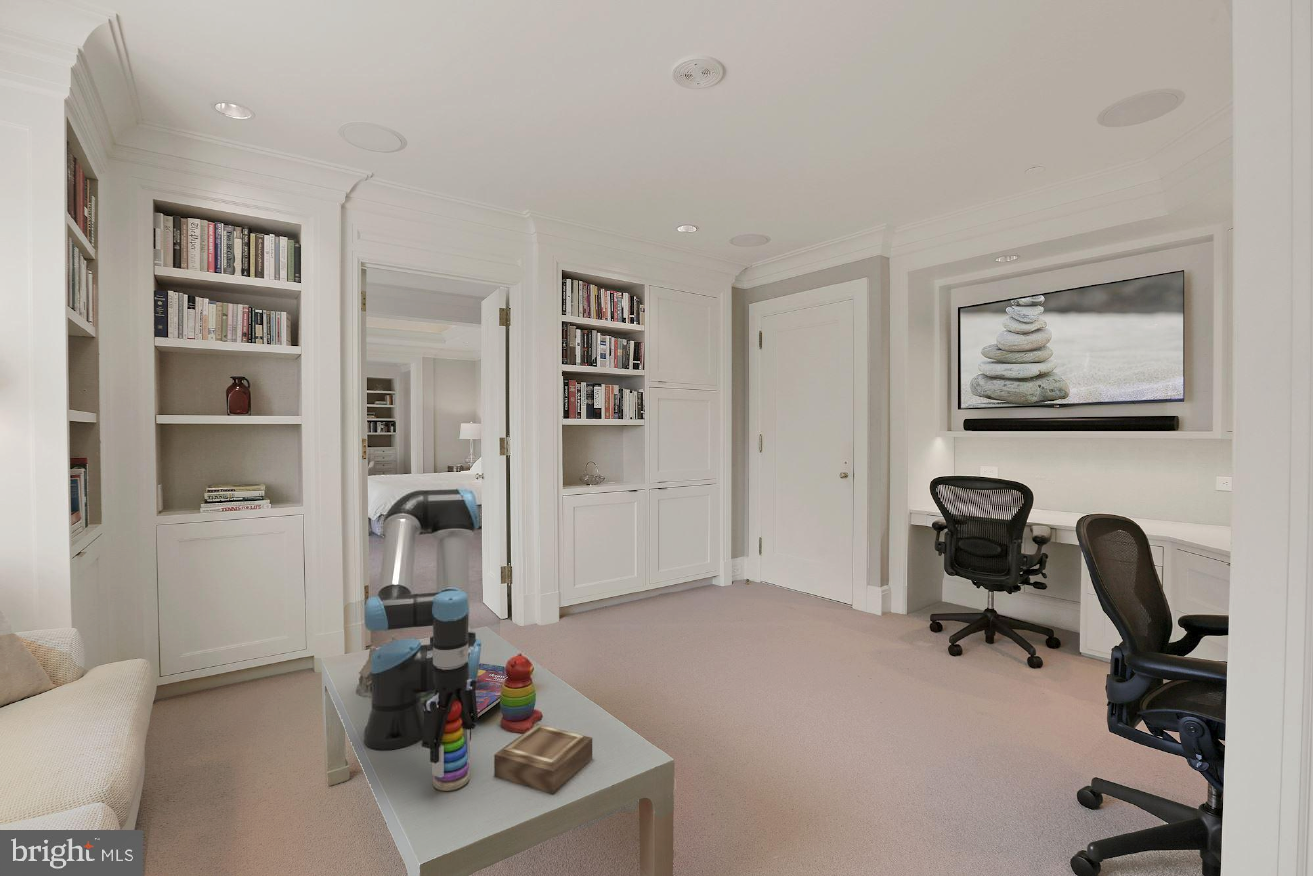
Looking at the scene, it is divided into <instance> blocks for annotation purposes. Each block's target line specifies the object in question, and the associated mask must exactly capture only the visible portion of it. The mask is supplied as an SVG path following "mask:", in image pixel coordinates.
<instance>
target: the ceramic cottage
mask: <svg viewBox="0 0 1313 876" xmlns="http://www.w3.org/2000/svg"><path fill="white" fill-rule="evenodd" d="M396 637H397V636H396V635H392V636H391V639H389V641H388V643H390V642H393V641H397V638H396ZM376 650H377V647H376V646H373V645H372V646H370V648H369V652H368V653H369V654H368V659H367V660H366V662H365V664H364V665H363V666H362V668H361V669H360V670H359V671H358V674H359V675H360V676H359V678H358V684H357V685H356V691H355V694H356V695H358V696H360V697H362V698H372V680H371V671H370V670H371V665H372V656H373V653H374V652H375V651H376Z"/></svg>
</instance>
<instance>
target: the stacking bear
mask: <svg viewBox="0 0 1313 876" xmlns="http://www.w3.org/2000/svg"><path fill="white" fill-rule="evenodd" d="M534 670H535V669H534V665H533V663H532V662H531V660H530V659H529V658H528V657H526V656H524V655H522V653H521V652H519V653H518V654H516V655H515V656H512V657H511V658H509V659H508V660H507V662H506V663H505V675H506V679H505V680H504V682H503V684H502V685H501V690H500V694H499V705H500V706H499V707H500V710H501V714H502V716H501V719H500V726H501V727H502V728H503V729H505V730H506V731H509V732H511V733H516V734H524V733H525V732H527V731H528V730H529V729H531V728H532V727H534V724H535V723H536V722H539V721H541V719H542V718H543V713H542V711H540V710H538V709H535V706H536V702H537V698H536V697H537V693H536V689H535V685H534V681H533V677H531V676H532V674H533V672H534Z"/></svg>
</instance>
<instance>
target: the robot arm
mask: <svg viewBox="0 0 1313 876" xmlns="http://www.w3.org/2000/svg"><path fill="white" fill-rule="evenodd" d="M479 521H480V520H479V509H478V503H477V498H476V495H475V493H474V492H473V490H471V489H462V488H461V489H460V488H456V489H452V488H451V489H429V490H428V489H426V490H424V489H418V490H414V491H412V492H411V491H410V492H407V494H405V495H403V496H401V497H400V498H399V499H398V500H396V501H395V502H394V503H393V504H392V505H391V506H390V508H389V509H388V510H387V512H386V514H385V516H384V518H383V522H382V533H383V535H384V537H385V538H384V545H383V550H382V551H383V552H382V557H381V558H382V559H381V565H380V566H381V567H380V572H379V582H378V588H377V589H378V590H377V595H376V596H372V597H368V598H367V599H366V602H365V605H364V626H365V628H366V629H367V631H371V632H372V631H373V632H375V631H377V632H378V631H385V632H386V631H391V630H392V631H393V630H400V629H401V630H403V629H408V628H409V629H410V628H422V627H432V634H431V635H430V636H429V644H422V642H421V640H420V639H418V638H410V637H409V638H408V637H407V638H403V639H402V638H401V639H398V640H397V639H396V640H397V641H393V642H390V643H389V642H387V643H386V644H384V645H382V646H380V647H378V648H376V651H375V652H374V653H373V656H372V665H371V670H370V671H371V680H372V697H371V710H370V713H369V716H368V721H367V724H366V726H365V728H364V730H363V731H364V732H363V742H364V745H366V747H368V748H371V749H375V750H381V751H388V750H394V749H400V748H406V747H407V746H411V745H413V744H415V743H417V742H419V741H421V747H422V748H423V749H424V748H425V749H429V762H430V763H431V775H432V776H433V777H434V776H437V777H440V778H442V777H443V776H444V746H442V745H441V742H442V738H443V733H444V729H445V725H446V721H447V717H448V714H450V712H451V709H452V704H453V703H454V702H455V701H460V702H461V706H462V710H461V713H460V715H459V716H458V717H460V718H461V720H462V725H461V727H462V729H463V736H464V739H465V741H464V744H465V745H466V753H467V755H468V760H469V759H470V758H471V741H472V730H475V728H476V724H475V723H477V722H478V721H479V714H478V712H479V711H478V705H477V696H476V695H477V693H476V688H477V681H478V677H479V668H480V660H481V652H482V651H481V649H482V640H481V639H480V638H477V637H476V635H477V634H476V632H475V630H474V629H473V628H472V627H471V626H470V624H471V623H470V562H469V561H470V557H469V555H470V553H469V551H470V550H469V549H470V548H469V545H470V544H469V541H470V540H471V539H472V538H473V537H474V535H475V533H474V532H475V530H478V529H479V528H480V522H479ZM421 532H430V537H431V539H432V540H433V541H435V542H436V571H435V573H436V574H435V575H436V581H435V582H436V583H435V585H436V588H435V589H436V591H435V592H426V593H413V582H414V581H413V580H414V569H415V567H414V566H415V555H416V540H417V537H418V536H419V535H420V533H421ZM430 692H434V694H433V695H434V696H432V698H430V699H425V700H424V701H423V703H422V699H421V698H422V693H430ZM440 706H441V707H443V708H446V710H445V709H441V708H440Z"/></svg>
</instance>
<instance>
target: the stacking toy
mask: <svg viewBox="0 0 1313 876" xmlns="http://www.w3.org/2000/svg"><path fill="white" fill-rule="evenodd" d="M440 708H441V709H445V710H446V708H443V707H441V706H440ZM461 710H462V706H461V702H460V701H455V702H454V703H453V704H452V709H451V712H450V714H448V717H447V721H446V725H445V729H444V733H443V738H442V742H441V745H442V746H444V776H443V777H442V778H440V777H437V776H434V775H433V777H432V785H433V787H434V788H435V789H437V790H440V791H446V792H447V791H449V792H450V791H454V790H457V789H460V788H462V787H464V786H465V785H466V784H467V783H468V782H469V780H470V779H471V772H470V765H469V761H468V760H469V759H468V755H467V753H466V745H465V744H464V741H465V739H464V736H463V729H462V728H463V726H461V725H462V720H461V718H460V717H458V716H459V715H460V713H461Z"/></svg>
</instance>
